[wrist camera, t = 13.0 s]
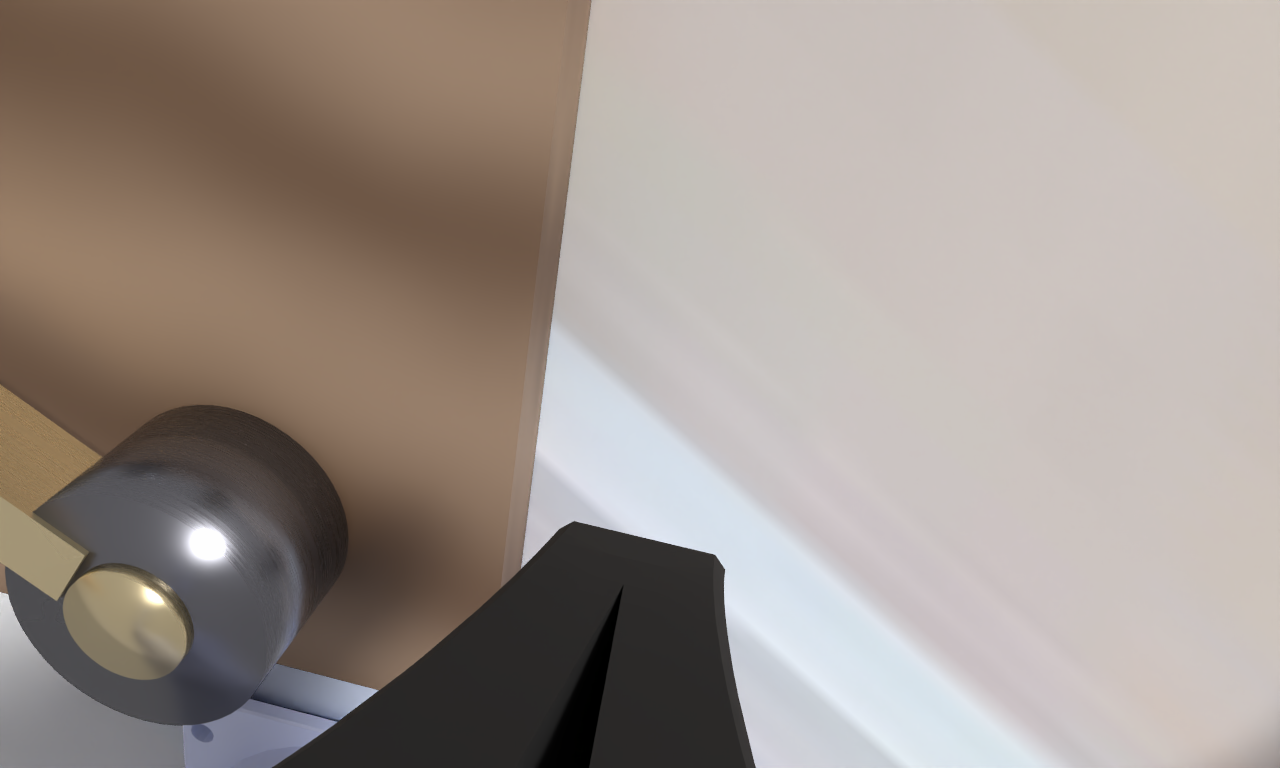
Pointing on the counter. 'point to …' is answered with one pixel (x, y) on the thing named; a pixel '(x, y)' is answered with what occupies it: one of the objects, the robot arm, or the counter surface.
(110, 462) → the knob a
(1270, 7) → the counter surface
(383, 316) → the brown knob panel
